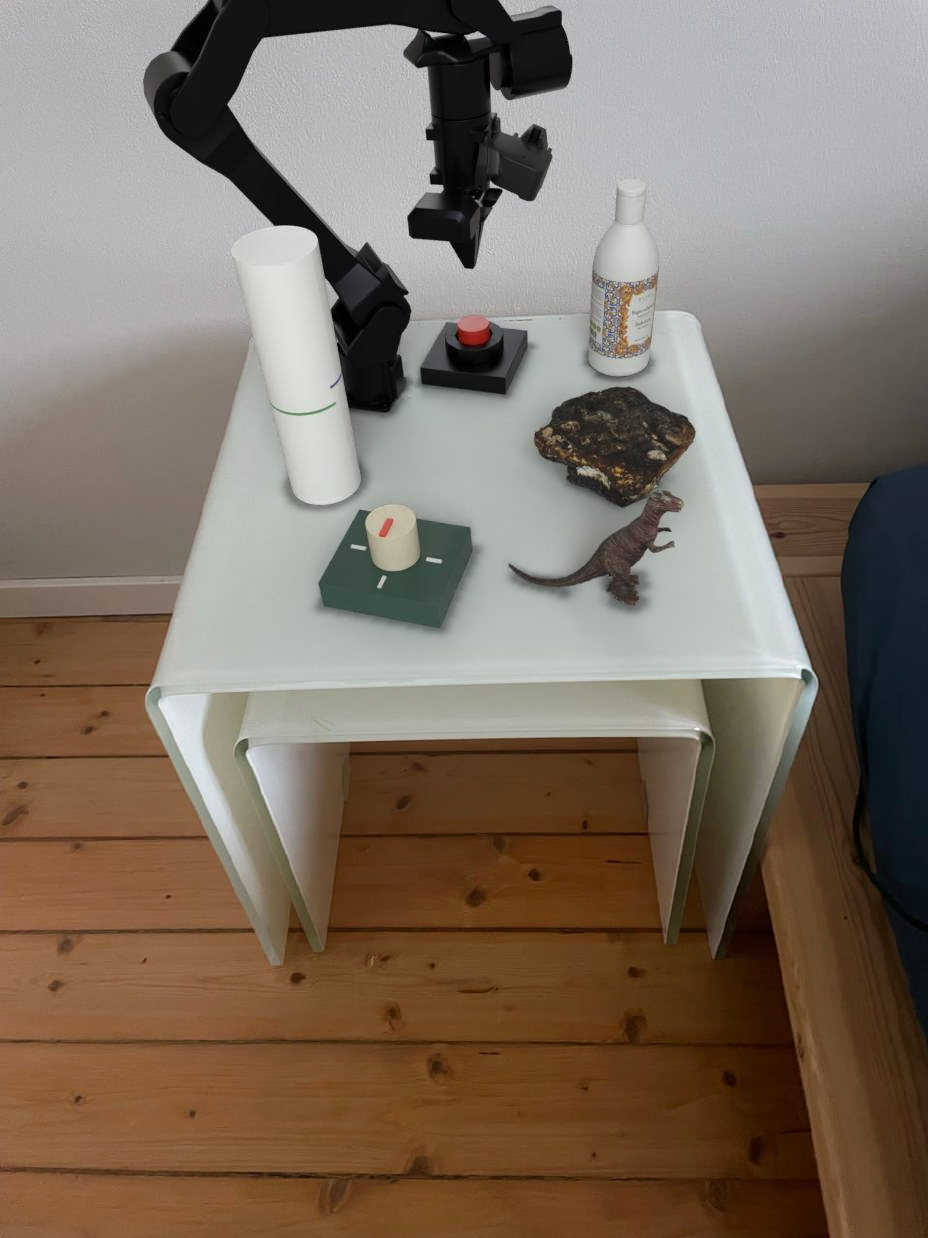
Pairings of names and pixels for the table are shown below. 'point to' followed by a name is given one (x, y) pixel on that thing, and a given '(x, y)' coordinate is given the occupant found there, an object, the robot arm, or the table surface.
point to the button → (473, 330)
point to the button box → (475, 360)
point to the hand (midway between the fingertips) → (470, 267)
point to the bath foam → (624, 287)
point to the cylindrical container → (299, 359)
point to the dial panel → (398, 575)
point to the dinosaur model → (621, 551)
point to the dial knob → (393, 537)
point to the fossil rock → (615, 442)
